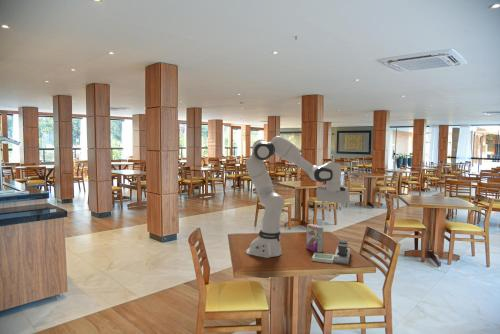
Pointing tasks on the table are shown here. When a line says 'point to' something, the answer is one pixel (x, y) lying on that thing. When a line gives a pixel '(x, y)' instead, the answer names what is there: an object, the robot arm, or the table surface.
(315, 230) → the candy bar box
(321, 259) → the plug tray
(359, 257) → the table surface
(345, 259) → the pdu strip
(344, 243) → the seated twin plug
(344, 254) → the black plug
